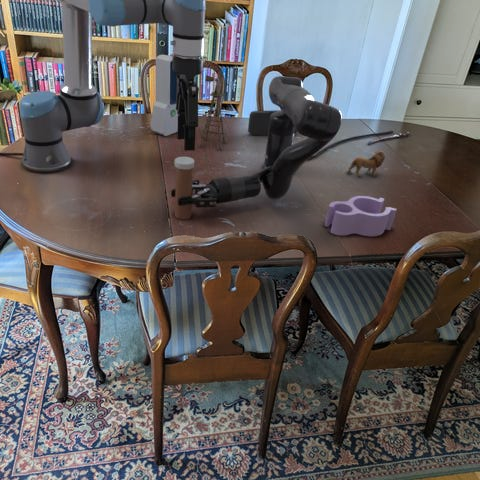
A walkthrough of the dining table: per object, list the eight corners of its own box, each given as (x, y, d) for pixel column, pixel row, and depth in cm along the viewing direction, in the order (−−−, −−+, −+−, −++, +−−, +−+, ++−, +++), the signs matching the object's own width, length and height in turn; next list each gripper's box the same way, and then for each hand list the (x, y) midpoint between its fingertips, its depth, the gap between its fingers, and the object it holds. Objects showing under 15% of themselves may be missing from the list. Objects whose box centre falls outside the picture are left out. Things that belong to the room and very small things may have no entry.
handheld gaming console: (295, 131, 210) (298, 109, 204) (297, 134, 208) (301, 111, 202) (247, 133, 203) (249, 110, 197) (249, 135, 201) (251, 112, 195)
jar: (175, 219, 137) (176, 165, 127) (174, 211, 141) (175, 158, 131) (192, 219, 138) (194, 165, 128) (190, 211, 142) (192, 158, 132)
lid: (175, 169, 128) (175, 164, 127) (173, 161, 132) (173, 156, 131) (195, 169, 129) (195, 164, 128) (192, 161, 133) (193, 156, 132)
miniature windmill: (220, 150, 184) (225, 71, 167) (199, 146, 185) (203, 68, 168) (225, 142, 191) (231, 66, 175) (205, 139, 192) (209, 63, 176)
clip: (337, 240, 135) (342, 219, 131) (318, 218, 145) (322, 198, 141) (395, 233, 141) (402, 213, 137) (373, 213, 151) (378, 194, 147)
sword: (406, 132, 223) (406, 130, 222) (411, 134, 221) (412, 132, 220) (362, 144, 207) (363, 141, 206) (368, 146, 205) (368, 143, 204)
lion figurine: (375, 170, 181) (381, 148, 176) (383, 176, 177) (389, 153, 172) (342, 172, 176) (348, 150, 171) (350, 178, 172) (355, 156, 167)
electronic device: (164, 137, 190) (164, 60, 174) (149, 132, 193) (148, 56, 177) (182, 129, 199) (184, 56, 183) (169, 125, 202) (169, 52, 186)
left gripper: (164, 46, 121) (164, 131, 134) (182, 65, 105) (180, 159, 118) (192, 47, 124) (190, 130, 136) (214, 65, 108) (209, 158, 120)
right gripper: (218, 168, 145) (166, 175, 138) (239, 188, 135) (184, 197, 127) (216, 190, 149) (166, 197, 142) (237, 211, 139) (183, 220, 131)
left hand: (185, 144), depth 127 cm, fingers open, 7 cm apart
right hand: (175, 197), depth 135 cm, fingers closed on jar, 5 cm apart
